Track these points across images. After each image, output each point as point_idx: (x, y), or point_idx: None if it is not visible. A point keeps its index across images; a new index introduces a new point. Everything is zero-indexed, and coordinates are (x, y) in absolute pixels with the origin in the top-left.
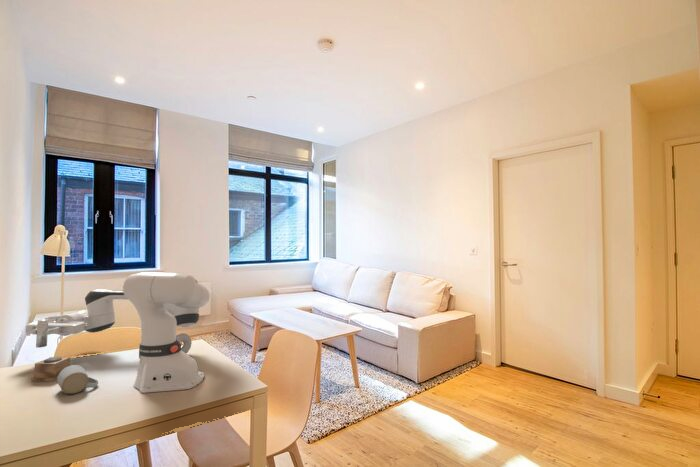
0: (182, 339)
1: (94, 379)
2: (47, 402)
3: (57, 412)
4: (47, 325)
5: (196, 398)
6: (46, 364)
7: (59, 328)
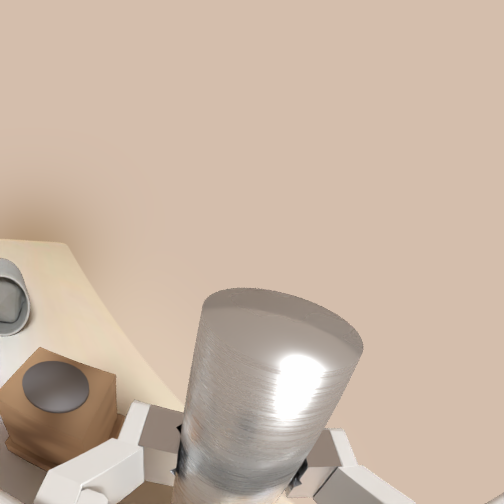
0: None
1: None
2: (43, 299)
3: (29, 272)
4: (187, 396)
5: None
6: (69, 361)
7: (44, 491)
